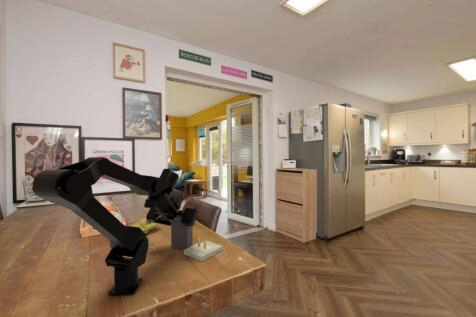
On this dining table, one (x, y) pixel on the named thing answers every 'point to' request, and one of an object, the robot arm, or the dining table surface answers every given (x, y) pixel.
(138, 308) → the dining table surface
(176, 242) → the block
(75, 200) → the robot arm
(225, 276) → the dining table surface
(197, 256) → the board
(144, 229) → the plastic component
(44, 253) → the dining table surface
